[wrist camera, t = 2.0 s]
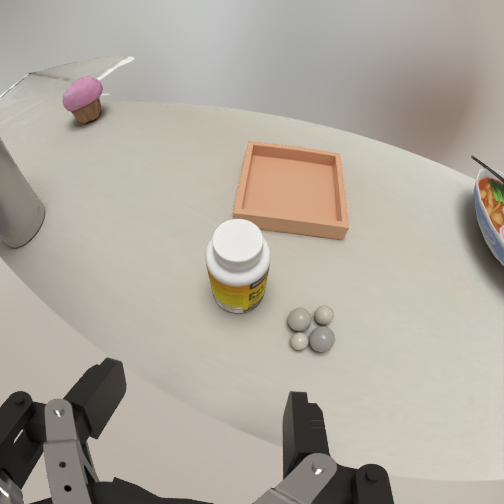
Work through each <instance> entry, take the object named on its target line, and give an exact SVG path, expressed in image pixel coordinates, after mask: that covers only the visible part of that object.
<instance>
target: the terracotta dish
mask: <svg viewBox="0 0 504 504" xmlns="http://www.w3.org/2000/svg"><path fill="white" fill-rule="evenodd" d="M233 219H244V220H248V221H250V222H252V223H254V224H255V225H256V226H257V227H258V228H259V229H262V230H270V231H278V232H286V233H294V234H302V235H310V236H317V237H325V238H332V239H340V240H343V238H344V236H345V234H346V232H347V231H348V229H349V224H348V213H347V203H346V194H345V186H344V178H343V170H342V163H341V156H340V154H338V153H333V152H327V151H321V150H315V149H308V148H302V147H294V146H287V145H279V144H271V143H262V142H252V141H248V146H247V151H246V155H245V160H244V164H243V169H242V174H241V178H240V183H239V188H238V193H237V197H236V202H235V207H234V212H233Z"/></svg>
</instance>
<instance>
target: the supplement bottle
mask: <svg viewBox="0 0 504 504" xmlns="http://www.w3.org/2000/svg"><path fill="white" fill-rule="evenodd" d="M205 260H206V266H207V270H208V274H209V279H210V283H211V287H212V292H213V295H214V298H215V300H216V302H217V303H218V304H219V305H220V306H221V307H222V308H223V309H225V310H227V311H230V312H233V313H244V312H247V311H250V310H252V309H253V308H255V307H256V306H257V305H258V304H259V303H260V301H261V300H262V298H263V295H264V291H265V286H266V281H267V276H268V271H269V266H270V260H271V253H270V249H269V246H268V244H267V242H266V240H265V239H264V238H263V235H262V232H261V231H260V229H259V228H258V227H257V226H256V225H255V224H254V223H252V222H250V221H248V220H244V219H232V220H229V221H226V222H224V223H223V224H221V225H220V226H219V227H218V228H217V229H216V231H215V232H214V235H213V238H212V239H211V241H210V242H209V244H208V246H207V249H206V253H205Z"/></svg>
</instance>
